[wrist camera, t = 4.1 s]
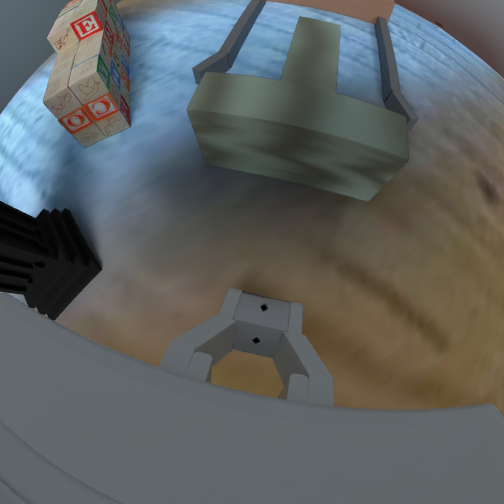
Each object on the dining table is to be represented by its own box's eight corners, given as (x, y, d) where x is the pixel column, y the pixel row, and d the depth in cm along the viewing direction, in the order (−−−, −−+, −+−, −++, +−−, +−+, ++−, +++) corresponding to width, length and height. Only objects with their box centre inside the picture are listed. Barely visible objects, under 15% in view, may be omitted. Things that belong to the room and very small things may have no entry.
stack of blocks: (132, 128, 25) (82, 48, 13) (85, 150, 25) (23, 86, 13) (130, 37, 29) (106, -18, 17) (95, 53, 29) (66, 2, 17)
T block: (371, 90, 26) (393, 42, 18) (368, 201, 23) (409, 160, 15) (246, 62, 27) (243, 9, 19) (206, 164, 24) (186, 109, 16)
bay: (390, 25, 29) (399, 1, 23) (409, 135, 24) (434, 103, 18) (251, -5, 31) (250, -31, 25) (194, 86, 26) (183, 47, 20)
